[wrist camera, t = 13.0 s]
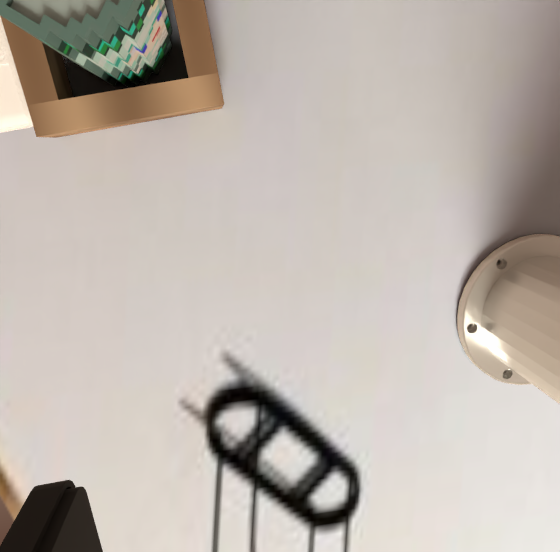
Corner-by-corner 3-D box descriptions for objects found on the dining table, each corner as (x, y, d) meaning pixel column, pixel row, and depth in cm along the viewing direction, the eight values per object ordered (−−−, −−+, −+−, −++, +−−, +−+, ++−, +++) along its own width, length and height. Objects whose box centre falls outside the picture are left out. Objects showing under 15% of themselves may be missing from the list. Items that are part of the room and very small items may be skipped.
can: (143, 103, 33) (97, 72, 19) (53, 50, 32) (-70, -27, 17) (186, 17, 32) (174, -84, 18) (97, -41, 31) (4, -204, 16)
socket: (185, -78, 31) (182, -109, 27) (221, 108, 34) (224, 103, 30) (1, -52, 30) (-29, -81, 26) (56, 137, 33) (36, 136, 29)
